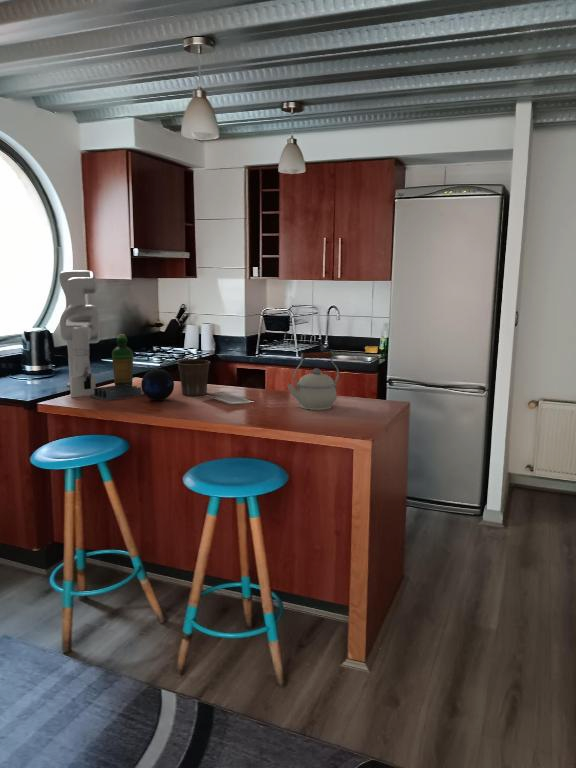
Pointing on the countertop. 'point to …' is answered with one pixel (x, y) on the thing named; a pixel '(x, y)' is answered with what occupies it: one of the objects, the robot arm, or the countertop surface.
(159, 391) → the decorative sphere
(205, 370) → the plant pot
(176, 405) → the countertop surface
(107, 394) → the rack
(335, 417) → the countertop surface
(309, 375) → the kettle
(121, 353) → the bottle
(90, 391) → the small white box
